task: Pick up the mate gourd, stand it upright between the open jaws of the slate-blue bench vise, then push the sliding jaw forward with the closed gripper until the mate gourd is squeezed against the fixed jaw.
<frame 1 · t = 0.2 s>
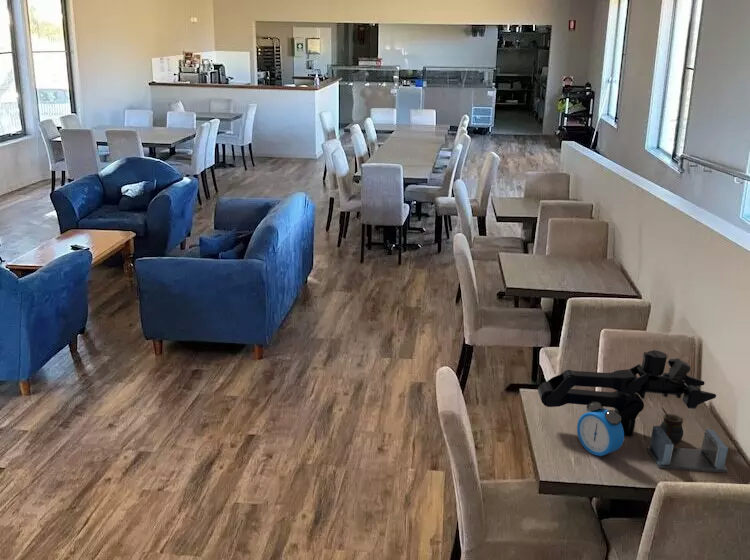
hand: (709, 389, 234), 16 cm above the table, tool horizontal, fingers open, 9 cm apart
vise bed: (685, 460, 224), on the table
free jaw: (661, 445, 223), point 5 cm above the table, slide at 0.0 cm
alarm clock: (597, 452, 227), on the table
mate gourd: (668, 440, 236), on the table
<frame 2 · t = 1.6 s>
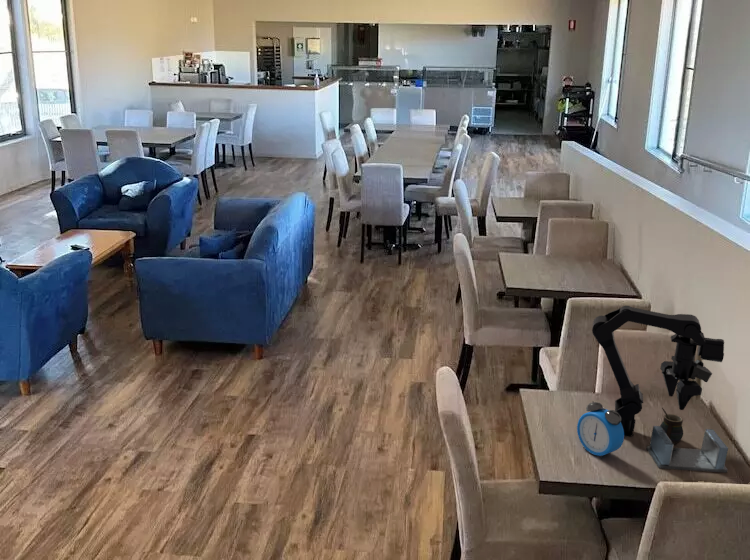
hand: (676, 402, 232), 13 cm above the table, tool pointing down, fingers open, 9 cm apart
nothing on the table moved.
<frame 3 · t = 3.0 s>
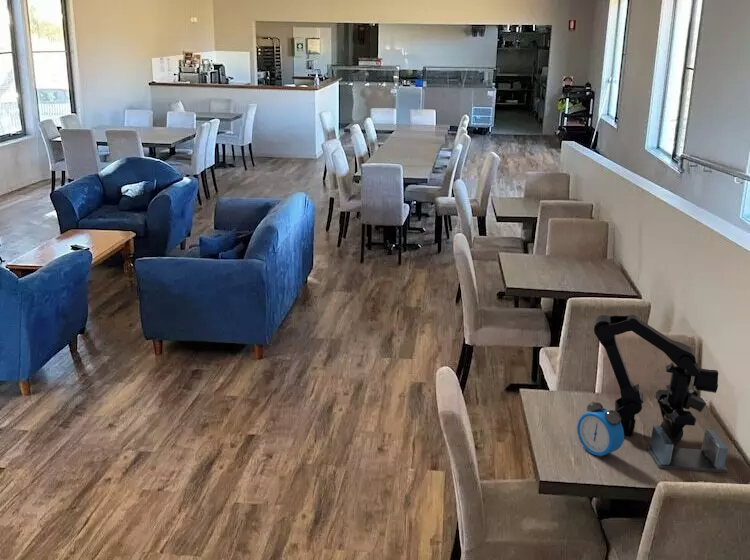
hand: (670, 431, 235), 3 cm above the table, tool pointing down, fingers closed on mate gourd, 7 cm apart
mate gourd: (668, 440, 236), on the table, touching gripper
everything else where it was.
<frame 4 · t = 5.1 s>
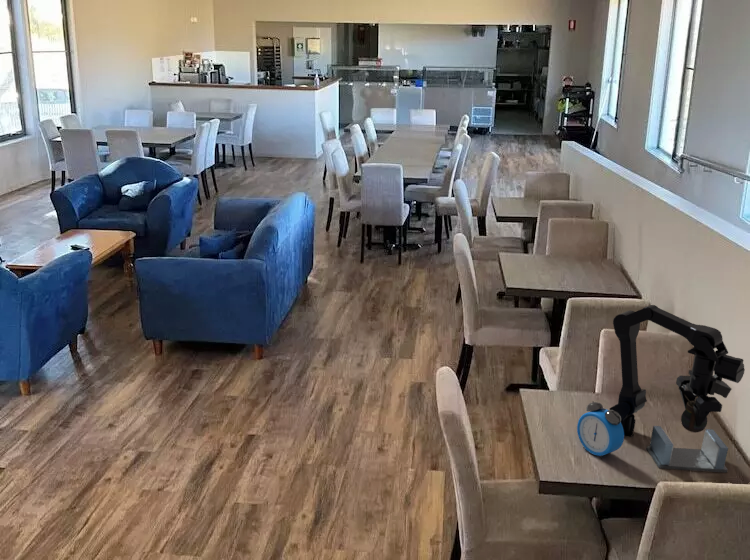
hand: (693, 419, 221), 13 cm above the table, tool pointing down, fingers closed on mate gourd, 7 cm apart
mate gourd: (691, 429, 222), point 10 cm above the table, touching gripper
everything else where it was.
when the fingers open (5 cm above the table, at t = 7.2 s): mate gourd stays where it is, resting on vise bed.
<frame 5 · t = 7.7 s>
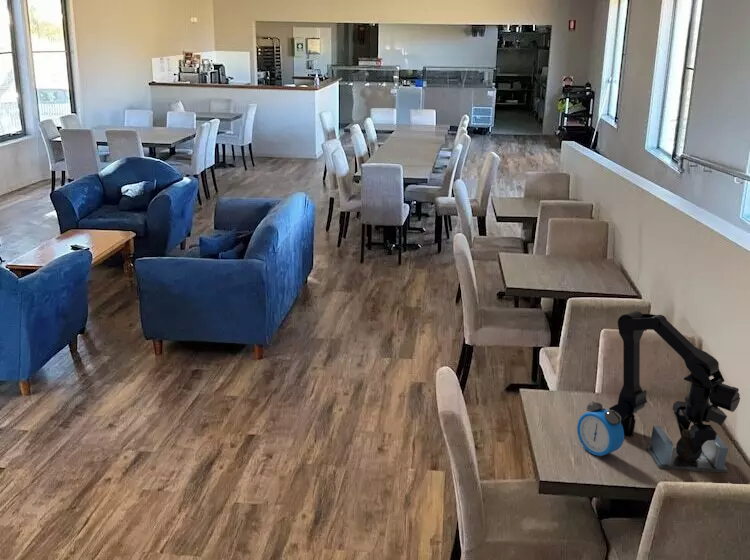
hand: (688, 445, 223), 5 cm above the table, tool pointing down, fingers open, 9 cm apart
mate gourd: (686, 457, 224), point 1 cm above the table, touching vise bed
everything else where it was.
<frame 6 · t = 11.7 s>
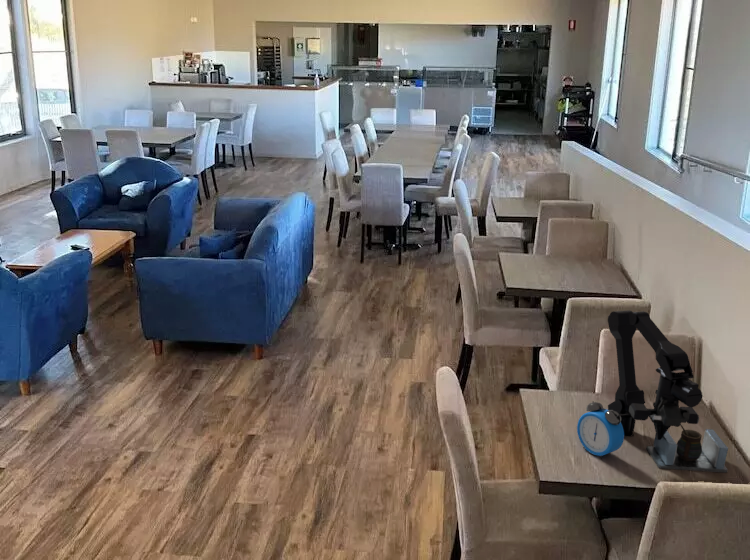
hand: (658, 439, 223), 7 cm above the table, tool pointing down, fingers closed
free jaw: (665, 445, 223), point 5 cm above the table, slide at 1.1 cm, touching gripper
everything else where it was.
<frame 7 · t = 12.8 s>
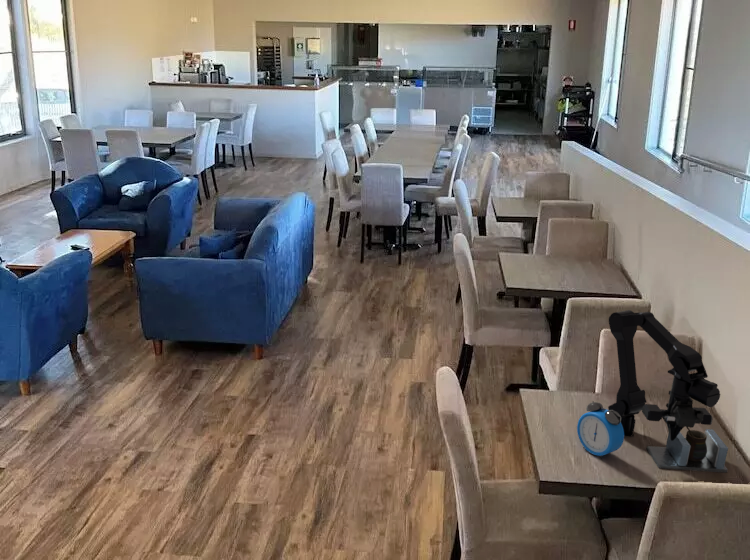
hand: (671, 440, 222), 7 cm above the table, tool pointing down, fingers closed
free jaw: (678, 446, 223), point 5 cm above the table, slide at 4.9 cm, touching mate gourd, gripper
mate gourd: (691, 458, 224), point 1 cm above the table, touching free jaw, vise bed
everything else where it was.
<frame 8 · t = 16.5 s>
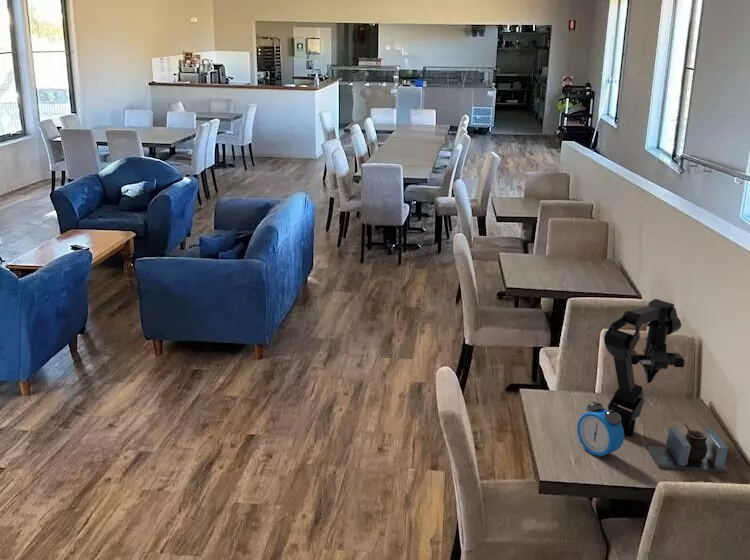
hand: (648, 382, 245), 13 cm above the table, tool pointing down, fingers closed
free jaw: (678, 446, 223), point 5 cm above the table, slide at 4.9 cm
mate gourd: (691, 458, 224), point 1 cm above the table, touching vise bed
everything else where it was.
at the end: mate gourd 0.8 cm from the target spot, point 0.8 cm above the table; mate gourd tilted 0°; free jaw slide at 4.9 cm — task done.
